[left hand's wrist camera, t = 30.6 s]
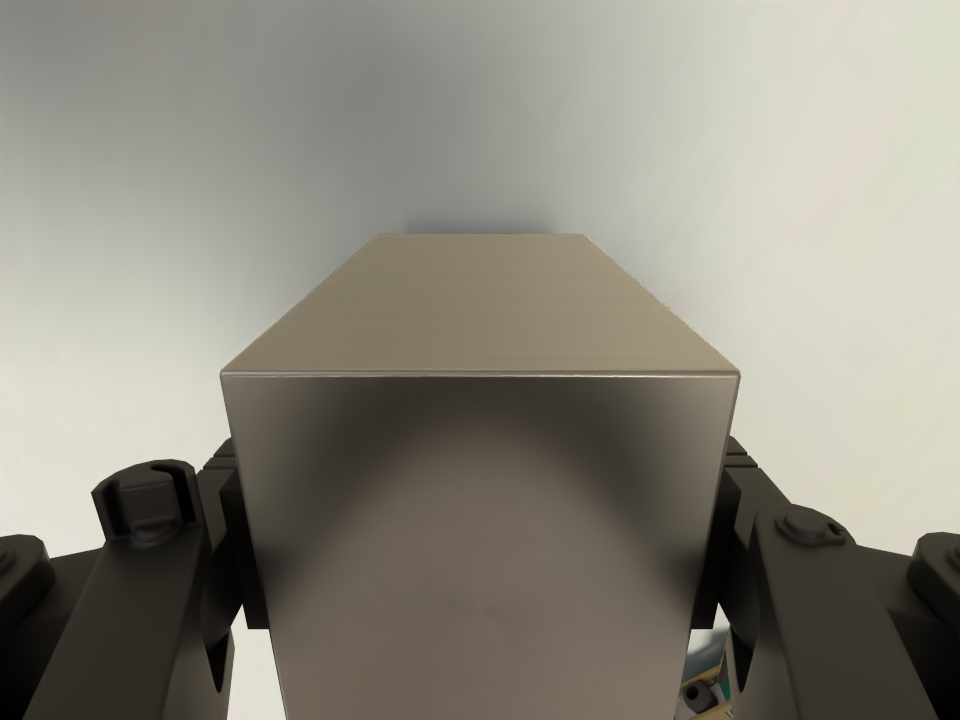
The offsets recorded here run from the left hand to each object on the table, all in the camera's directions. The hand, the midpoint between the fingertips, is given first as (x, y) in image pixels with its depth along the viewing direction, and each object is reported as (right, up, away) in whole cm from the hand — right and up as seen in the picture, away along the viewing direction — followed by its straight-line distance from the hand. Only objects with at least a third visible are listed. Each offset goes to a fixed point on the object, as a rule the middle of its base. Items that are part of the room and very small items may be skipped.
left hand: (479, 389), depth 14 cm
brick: (0, +1, +3) cm, 3 cm away
